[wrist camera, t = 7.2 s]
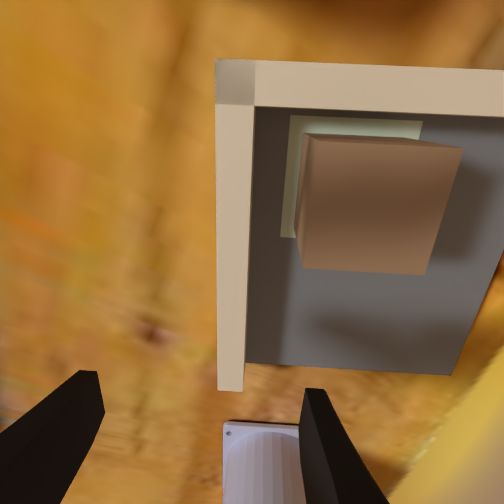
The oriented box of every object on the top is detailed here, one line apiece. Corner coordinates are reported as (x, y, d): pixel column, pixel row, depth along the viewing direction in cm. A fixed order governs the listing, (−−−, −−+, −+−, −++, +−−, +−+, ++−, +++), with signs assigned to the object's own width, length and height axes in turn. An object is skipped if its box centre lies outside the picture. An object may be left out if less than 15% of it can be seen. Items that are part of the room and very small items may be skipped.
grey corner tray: (444, 366, 22) (472, 406, 19) (224, 353, 22) (217, 390, 19) (558, 83, 15) (634, 75, 12) (225, 69, 15) (214, 58, 12)
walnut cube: (382, 232, 17) (424, 275, 13) (293, 227, 17) (303, 268, 13) (404, 137, 15) (464, 148, 11) (303, 132, 15) (319, 141, 11)
